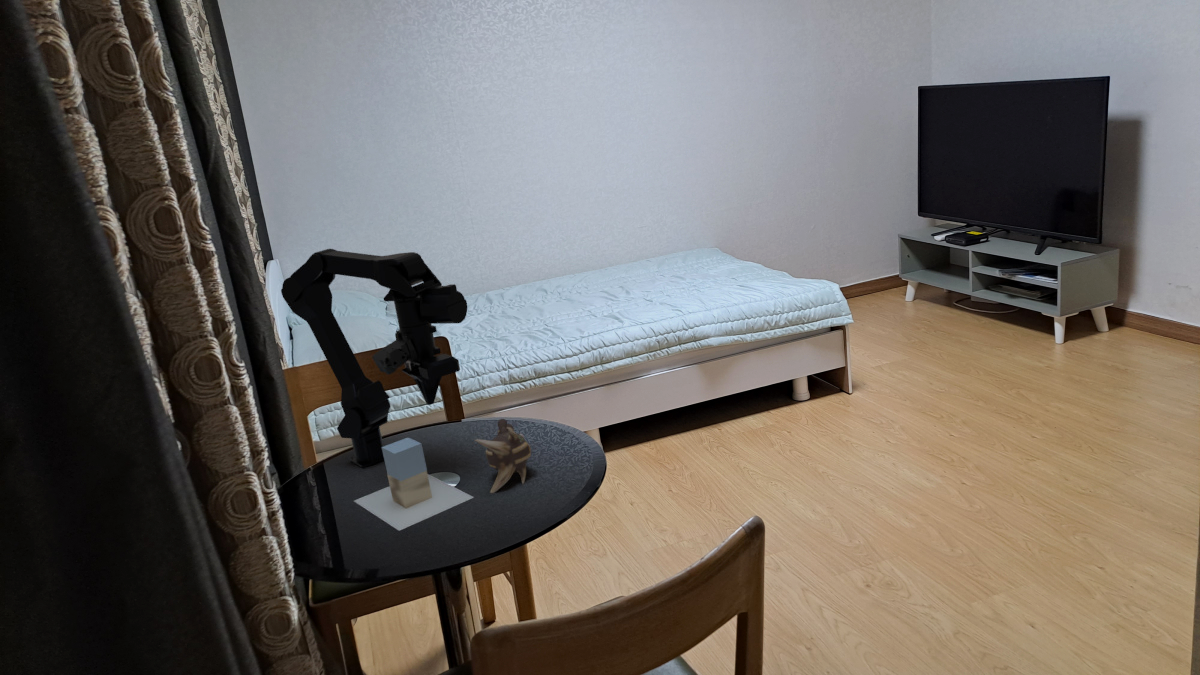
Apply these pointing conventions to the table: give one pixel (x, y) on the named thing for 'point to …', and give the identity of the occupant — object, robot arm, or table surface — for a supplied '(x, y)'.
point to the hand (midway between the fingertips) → (430, 403)
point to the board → (405, 517)
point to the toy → (507, 454)
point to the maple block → (410, 489)
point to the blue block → (404, 459)
